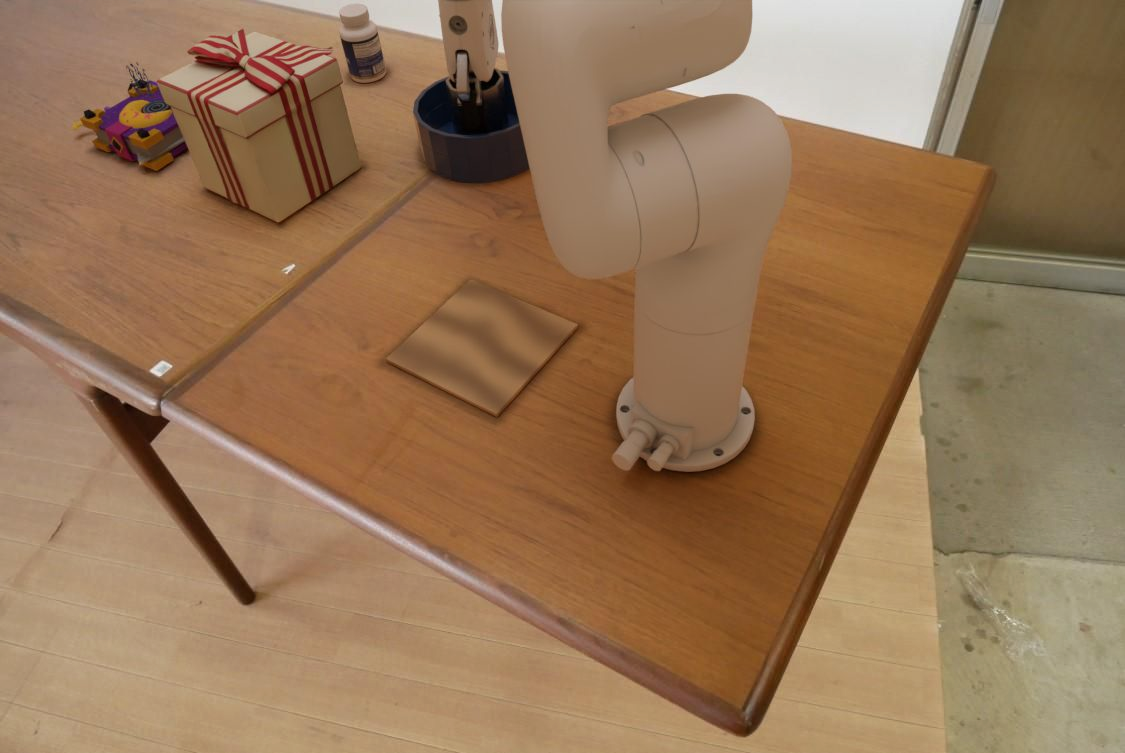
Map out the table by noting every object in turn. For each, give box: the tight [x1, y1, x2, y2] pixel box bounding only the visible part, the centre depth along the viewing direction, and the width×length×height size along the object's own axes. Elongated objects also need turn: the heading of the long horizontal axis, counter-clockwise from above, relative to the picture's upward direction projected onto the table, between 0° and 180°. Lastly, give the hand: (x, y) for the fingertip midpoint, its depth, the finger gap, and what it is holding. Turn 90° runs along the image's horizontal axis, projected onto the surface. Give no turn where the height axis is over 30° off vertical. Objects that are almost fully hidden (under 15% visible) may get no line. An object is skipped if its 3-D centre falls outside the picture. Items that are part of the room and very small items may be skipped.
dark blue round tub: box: [412, 70, 530, 184], centre depth 108 cm, size 16×16×6 cm
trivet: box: [385, 278, 579, 418], centre depth 86 cm, size 14×14×1 cm
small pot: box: [446, 67, 509, 135], centre depth 106 cm, size 7×7×9 cm
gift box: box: [156, 28, 362, 223], centre depth 102 cm, size 17×18×17 cm
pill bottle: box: [338, 3, 387, 84], centre depth 121 cm, size 5×5×10 cm
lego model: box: [71, 61, 188, 172], centre depth 111 cm, size 14×25×12 cm, turn 59°
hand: (479, 113), depth 107 cm, fingers closed on small pot, 7 cm apart
